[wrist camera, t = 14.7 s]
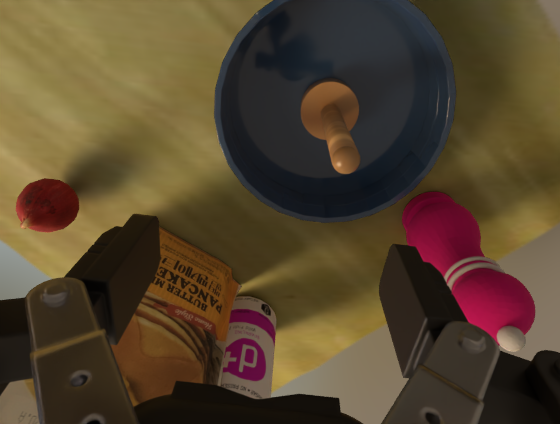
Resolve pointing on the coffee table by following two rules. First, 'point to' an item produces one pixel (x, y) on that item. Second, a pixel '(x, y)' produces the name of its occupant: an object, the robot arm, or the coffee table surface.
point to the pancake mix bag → (162, 331)
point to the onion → (47, 205)
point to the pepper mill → (469, 268)
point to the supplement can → (250, 348)
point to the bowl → (362, 81)
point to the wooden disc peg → (333, 120)
